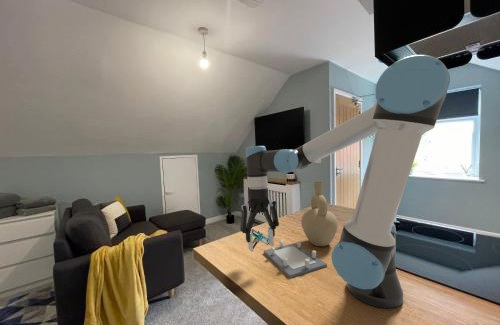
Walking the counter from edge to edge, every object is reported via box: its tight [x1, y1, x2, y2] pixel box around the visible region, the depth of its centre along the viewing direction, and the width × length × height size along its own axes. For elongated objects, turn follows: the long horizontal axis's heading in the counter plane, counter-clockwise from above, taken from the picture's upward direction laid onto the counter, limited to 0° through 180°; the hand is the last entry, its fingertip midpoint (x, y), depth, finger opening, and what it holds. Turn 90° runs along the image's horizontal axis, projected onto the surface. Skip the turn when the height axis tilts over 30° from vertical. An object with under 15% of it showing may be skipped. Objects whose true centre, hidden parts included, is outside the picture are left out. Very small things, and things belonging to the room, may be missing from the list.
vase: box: [300, 181, 339, 247], centre depth 100 cm, size 17×17×30 cm
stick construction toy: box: [251, 228, 269, 250], centre depth 81 cm, size 12×7×8 cm
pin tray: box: [263, 240, 328, 279], centre depth 87 cm, size 21×17×4 cm
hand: (261, 247), depth 78 cm, fingers closed on stick construction toy, 8 cm apart
